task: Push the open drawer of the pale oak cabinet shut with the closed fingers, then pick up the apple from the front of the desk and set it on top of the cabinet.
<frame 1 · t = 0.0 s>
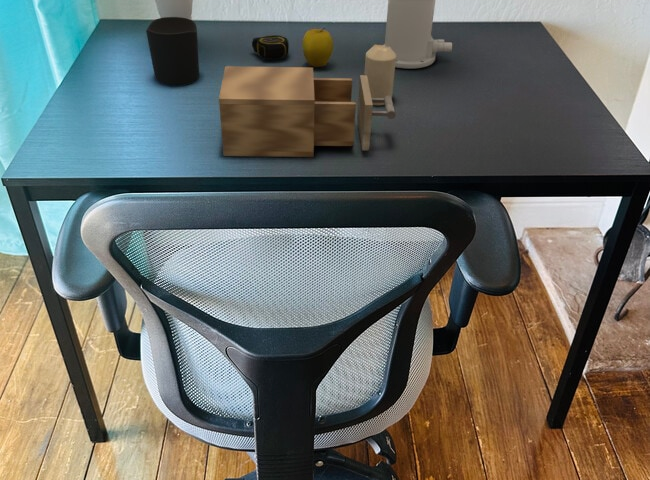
pen holder: (177, 78, 131), on the table
cup: (179, 44, 144), on the table
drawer: (340, 111, 111), point 5 cm above the table, slide at 8.0 cm
cabinet: (269, 138, 113), on the table
apple: (317, 66, 137), on the table
candle: (377, 100, 126), on the table
tape measure: (270, 56, 141), on the table
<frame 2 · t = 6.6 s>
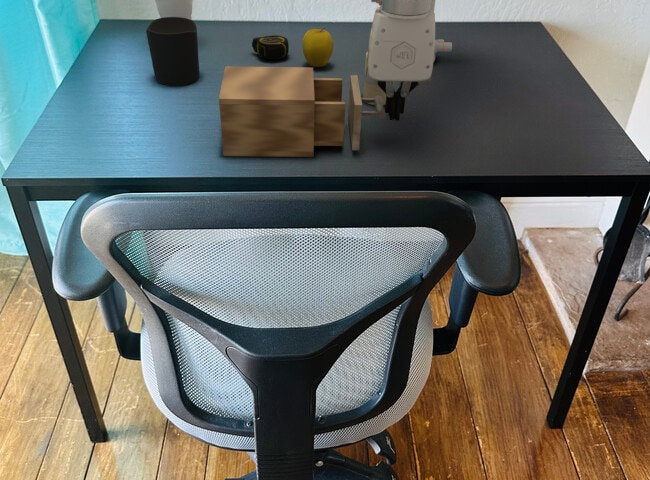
hand: (393, 116, 111), 4 cm above the table, tool pointing down, fingers closed
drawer: (330, 111, 110), point 5 cm above the table, slide at 6.3 cm, touching gripper
everything else where it was.
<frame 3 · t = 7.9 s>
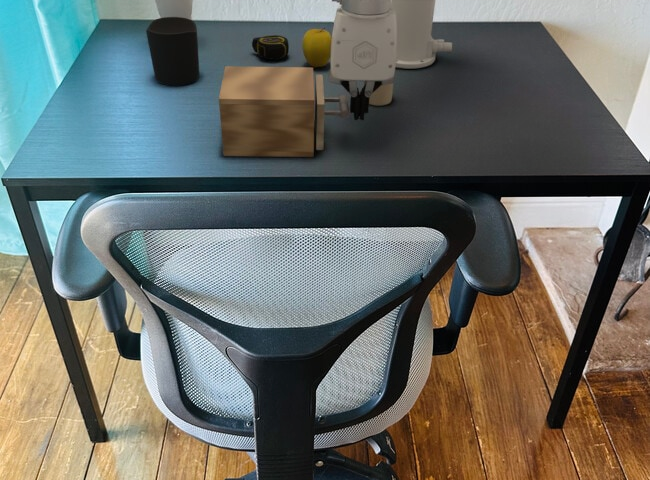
hand: (358, 116, 111), 4 cm above the table, tool pointing down, fingers closed
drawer: (294, 111, 110), point 5 cm above the table, slide at 0.4 cm, touching gripper
everything else where it was.
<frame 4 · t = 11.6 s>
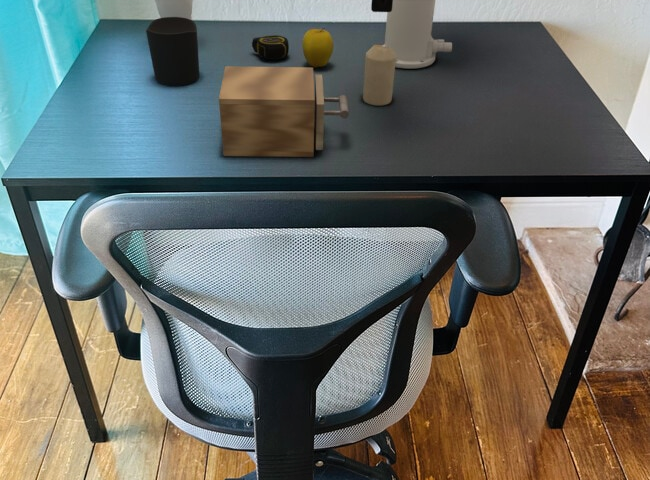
hand: (378, 1, 106), 20 cm above the table, tool pointing down, fingers open, 9 cm apart
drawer: (294, 111, 110), point 5 cm above the table, slide at 0.4 cm
everything else where it was.
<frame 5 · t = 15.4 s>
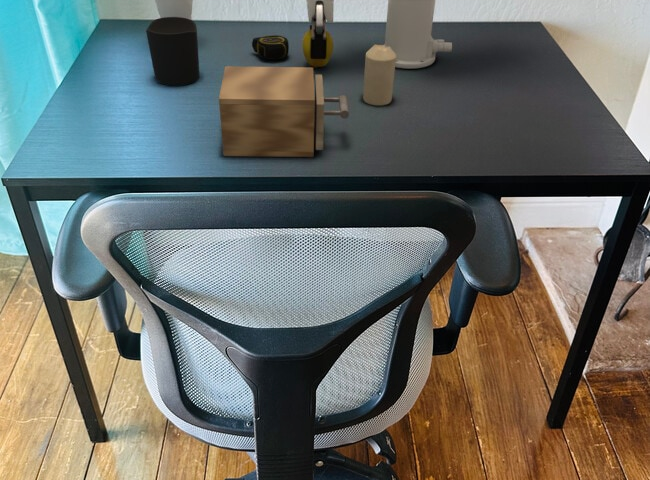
hand: (317, 50, 135), 3 cm above the table, tool pointing down, fingers closed on apple, 6 cm apart
apple: (317, 66, 137), on the table, touching gripper
everything else where it was.
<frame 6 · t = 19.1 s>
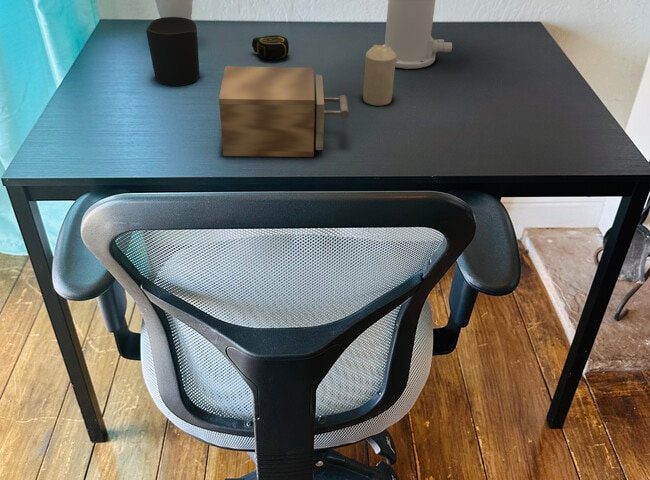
when the fingers open (13 cm above the table, at t = 22.7 s): apple stays where it is, resting on cabinet.
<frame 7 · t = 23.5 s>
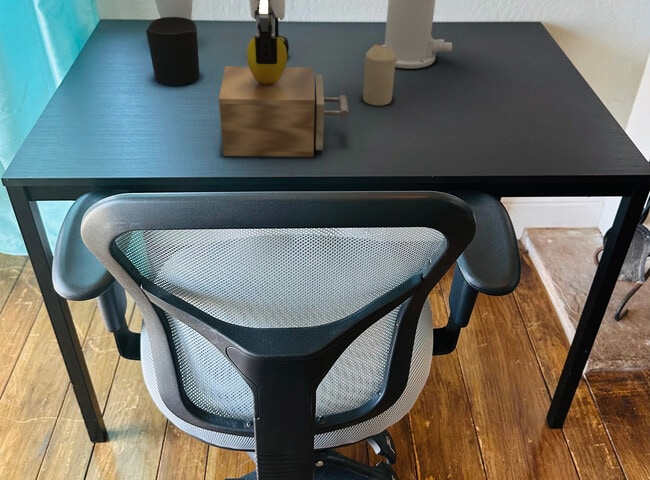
hand: (267, 51, 103), 15 cm above the table, tool pointing down, fingers open, 9 cm apart
apple: (268, 83, 107), point 10 cm above the table, touching cabinet
everything else where it was.
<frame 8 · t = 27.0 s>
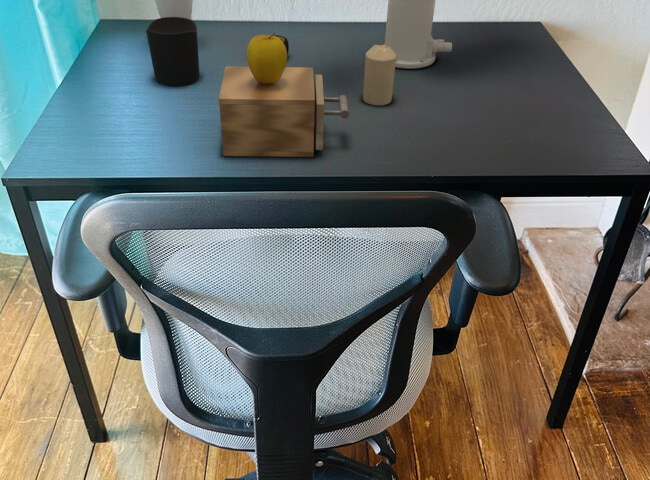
nothing on the table moved.
at the end: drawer slide at 0.4 cm; apple inside the target area on the cabinet (0.0 cm from its centre), point 9.6 cm above the cabinet's base; the gripper is holding nothing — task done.
